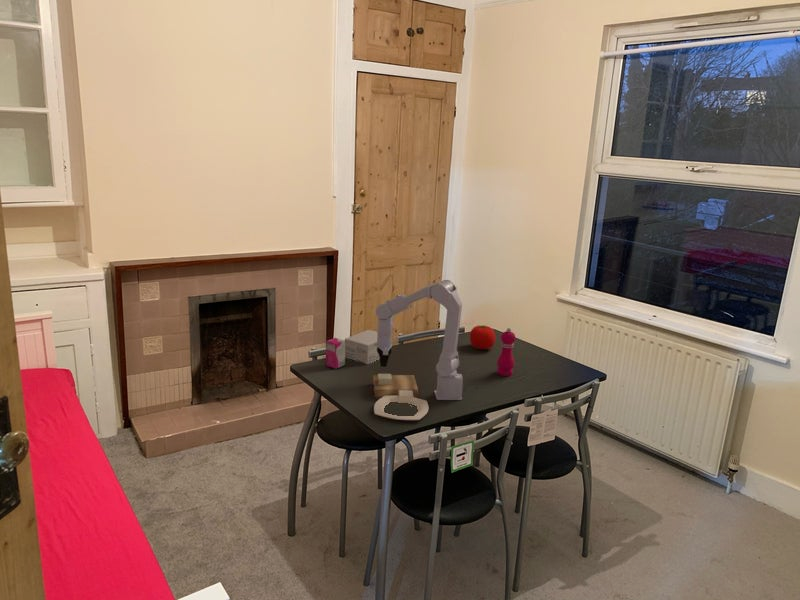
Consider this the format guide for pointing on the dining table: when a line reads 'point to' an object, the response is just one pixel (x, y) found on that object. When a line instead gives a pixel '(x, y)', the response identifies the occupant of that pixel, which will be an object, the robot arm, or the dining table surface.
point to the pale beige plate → (386, 399)
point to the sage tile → (384, 379)
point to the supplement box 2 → (362, 347)
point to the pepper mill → (506, 354)
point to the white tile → (405, 396)
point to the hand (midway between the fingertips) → (383, 366)
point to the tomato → (482, 337)
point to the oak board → (396, 385)
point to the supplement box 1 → (335, 353)
